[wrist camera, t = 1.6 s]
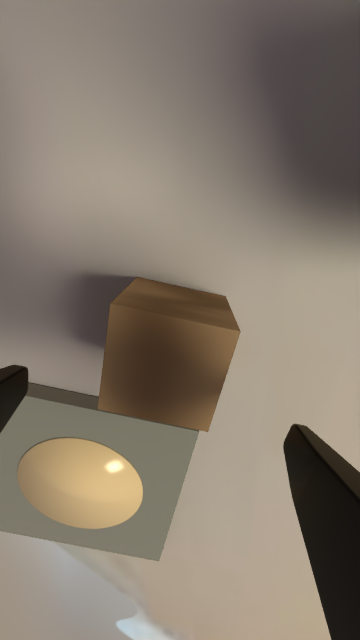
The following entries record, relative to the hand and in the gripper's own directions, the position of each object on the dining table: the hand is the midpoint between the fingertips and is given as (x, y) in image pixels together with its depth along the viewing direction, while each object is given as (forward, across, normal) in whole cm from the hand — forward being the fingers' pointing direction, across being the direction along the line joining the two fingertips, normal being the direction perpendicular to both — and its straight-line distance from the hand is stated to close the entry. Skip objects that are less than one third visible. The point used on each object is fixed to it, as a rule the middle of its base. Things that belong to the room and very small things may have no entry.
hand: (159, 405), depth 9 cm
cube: (+7, 0, 0) cm, 7 cm away
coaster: (+7, +4, +13) cm, 15 cm away
